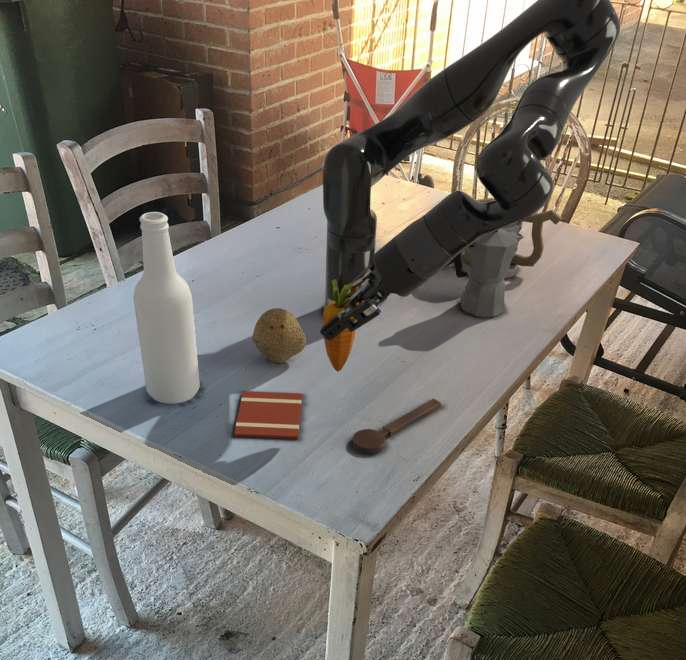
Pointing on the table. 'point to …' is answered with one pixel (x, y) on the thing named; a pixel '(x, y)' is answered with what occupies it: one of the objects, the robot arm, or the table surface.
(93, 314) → the table surface
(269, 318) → the brown round lump
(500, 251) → the coffeepot
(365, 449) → the wooden spoon
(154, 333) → the alcohol
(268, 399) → the tea towel
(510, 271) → the tankard
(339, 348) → the carrot
